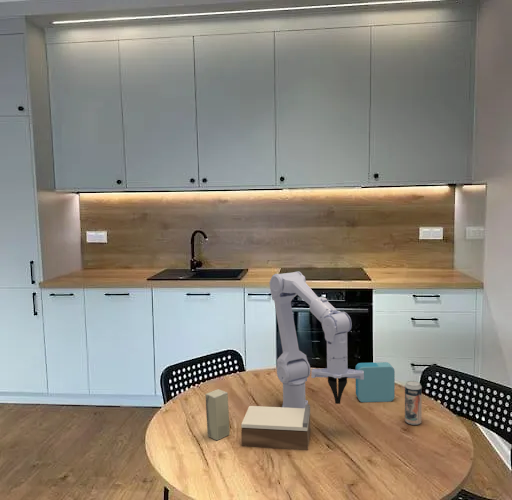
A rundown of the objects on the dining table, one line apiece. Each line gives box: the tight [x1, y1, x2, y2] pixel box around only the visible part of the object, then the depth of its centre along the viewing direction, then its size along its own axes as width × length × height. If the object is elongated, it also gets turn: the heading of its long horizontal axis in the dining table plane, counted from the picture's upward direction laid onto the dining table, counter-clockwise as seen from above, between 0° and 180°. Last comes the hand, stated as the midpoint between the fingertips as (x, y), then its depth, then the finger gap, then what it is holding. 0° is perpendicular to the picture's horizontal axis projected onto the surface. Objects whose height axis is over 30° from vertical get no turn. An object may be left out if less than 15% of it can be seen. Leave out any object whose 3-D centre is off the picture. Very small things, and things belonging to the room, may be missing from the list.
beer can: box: [404, 380, 423, 426], centre depth 143 cm, size 5×5×12 cm
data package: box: [354, 361, 396, 403], centre depth 161 cm, size 12×4×12 cm, turn 90°
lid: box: [240, 404, 311, 431], centre depth 136 cm, size 12×18×2 cm, turn 80°
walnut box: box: [241, 415, 311, 451], centre depth 136 cm, size 12×18×5 cm, turn 80°
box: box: [205, 388, 230, 441], centre depth 138 cm, size 5×4×13 cm
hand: (337, 402), depth 137 cm, fingers closed
